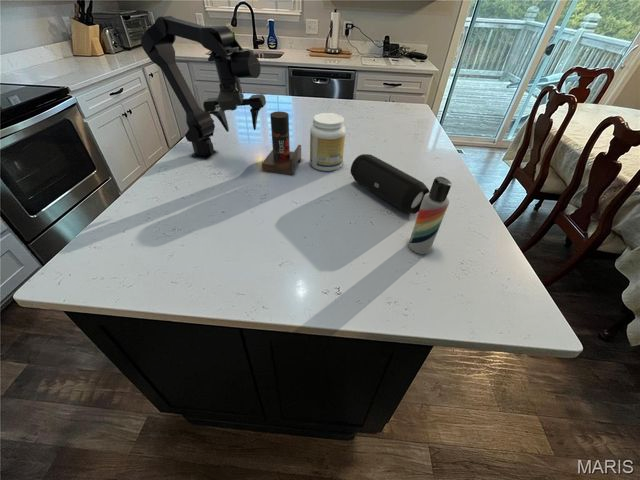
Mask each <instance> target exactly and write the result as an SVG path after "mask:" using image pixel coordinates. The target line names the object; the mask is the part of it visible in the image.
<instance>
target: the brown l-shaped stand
mask: <svg viewBox="0 0 640 480" xmlns="http://www.w3.org/2000/svg"><path fill="white" fill-rule="evenodd" d="M301 161H302V144H298V145H297V146H296V148H295V149H294V151H291V150H290V159H289V160H287V161H276V160H274V158H273V149H271V151H270V153H268V155H267V156H266V157H265V158H264V160H263V161H262V162H261V170H262V172H267V173H271V174H272V173H273V174H280V175H285V176H293V175H294V173H295V171H294V170H295V167H296V165H297V164H298V163H301Z"/></svg>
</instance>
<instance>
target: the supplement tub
mask: <svg viewBox="0 0 640 480" xmlns="http://www.w3.org/2000/svg"><path fill="white" fill-rule="evenodd" d="M344 125H345V117H344V116H343V115H340V114H337V113H332V112H322V113H317V114H316V115H314V116H313V118H312V125H311V127H310V130H309V132H310V134H309V135H310V137H309V163H310V166H311V167H312V168H314V169H315V170H318V171H321V172H332V171H336V170H338V169H340V168H341V167H342V166H343V163H344V152H345V141H346V127H345V126H344Z"/></svg>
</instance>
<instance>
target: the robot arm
mask: <svg viewBox="0 0 640 480" xmlns="http://www.w3.org/2000/svg"><path fill="white" fill-rule="evenodd" d="M176 37H179V38H182V39H186V40H189V41H193V42H195V43H197V44H200V45H201V46H202V47H203V48H204V49H206V50H208V51H209V52H210V55H209V56H208V58H207V61H208V62H214V65H215V69H216V73H217V77H218V81H219V85H218V86H219V93H218V96H217V97H209V98H207V99H205V100H204V101H203V103H202V108H201V107H200V106H199V104H198V101H197V100H196V98H195V96H194V94H193V93H192V90H191V89H190V87H189V85H188V83H187V81H186V79H185V77H184V76H183V74H182V72H181V70H180V68H179V66H178V65H177V61H176V50H175V48H174V46H173V45H174V43H175V42H176ZM140 45H141V47H142V50H143V51H144V53H145V54H146V56H147V57H148V58H149V60H150V61H151V62H153V63H154V64H155V65H156V66H158V67H159V68H160V69H161V71H162V73H163V74H164V77H165V78H166V79H167V81H168V83H169V85H170V87H171V89H172V91H173V93H174V94H175V96H176V98H177V100H178V101H179V103H180V105H181V107H182V109H183V110H184V112H185V118H186V119H185V121H186V125H187V128H188V130H187V131H186V133H185V134H184V137H185V139H186V141H187V142H189V143H191V145H192V150H193V154H191V156H192V157H193V158H194V157H195V158H201V159H205V160H207V159H210V158H211V157H212V156H213V155H214V154H215V153H217V152H216V151H217V150H215V148H214V143H213V142H212V139H211V137H213V136H214V131H215V128H216V125H215V123H214V122H215V120H214V119H213V117H212V116H214V117H216V118H217V119H218V121H219V122H220V124H221V126H222V127H223V128H224V130H225V131H226V132H227V133H229V132H230V129H229V124H228V123H229V122H228V120H227V117H226V113H225V112H226V111H236V110H237V109H238V107H241V106H249V107H250V109H249V112H250V115H251V121H252V128H253V130H254V131H256V129H257V124H258V123H257V122H258V116H259V112H260V111H261V109H262V108H264V107H265V106H266V104H267V101H266V96H265V95H264V94H262V93H261V94H252V95H251V96H250V97H249V98H245V96H244V93H243V91H242V86H241V79H258V78H259V76H260V74H261V72H262V71H261V69H262V67H261V62H260V61H259V59H258V57H257V56H256V55H255V54H254V50H253V49H247V50H244V49H243V47H242V46H241V45H240V44H239V42H238V41H237V39H236V38H235V36H234V35H233V32H232V31H231V29H230V28H229V27H228V26H226V25H202V24H198V23H195V22H192V21H187V20H183V19H181V18H176V17H174V16H171V15H162V16H158V17H157V18H156V19H155V21H154V22H153V24H152V25H151V26H150V27H149V28H147V29H146V30H145V31H144V33H143V34H142V35H141V38H140ZM211 115H212V116H211Z"/></svg>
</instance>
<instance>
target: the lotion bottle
mask: <svg viewBox="0 0 640 480" xmlns="http://www.w3.org/2000/svg"><path fill="white" fill-rule="evenodd" d="M452 185H453V183H452V182H451V180H449V178H446V177H444V176H436V177H435V178H434V179H433V181H432V184H431V187H430V189H429V191H430V193H427V194H425V196H424V198H423V201H422V204H421V207H420V210H419V211H418V212H417V216H416V219H415V223H414V225H413V228H412V232H411V234H410V238H409V241H408V247H409V249H410V250H411V251H412V252H414V253H416V254H419V255H425V254H428V253H430V251H431V250H432V247H433V245H434V242H435V240H436V238H437V235H438V233H439V230H440V227H441V225H442V222H443V220H444V217H445V215H446V212H447V210H448V207H449V205H450V199H449V198H448V195H449V193H450V190H451V187H452Z"/></svg>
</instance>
